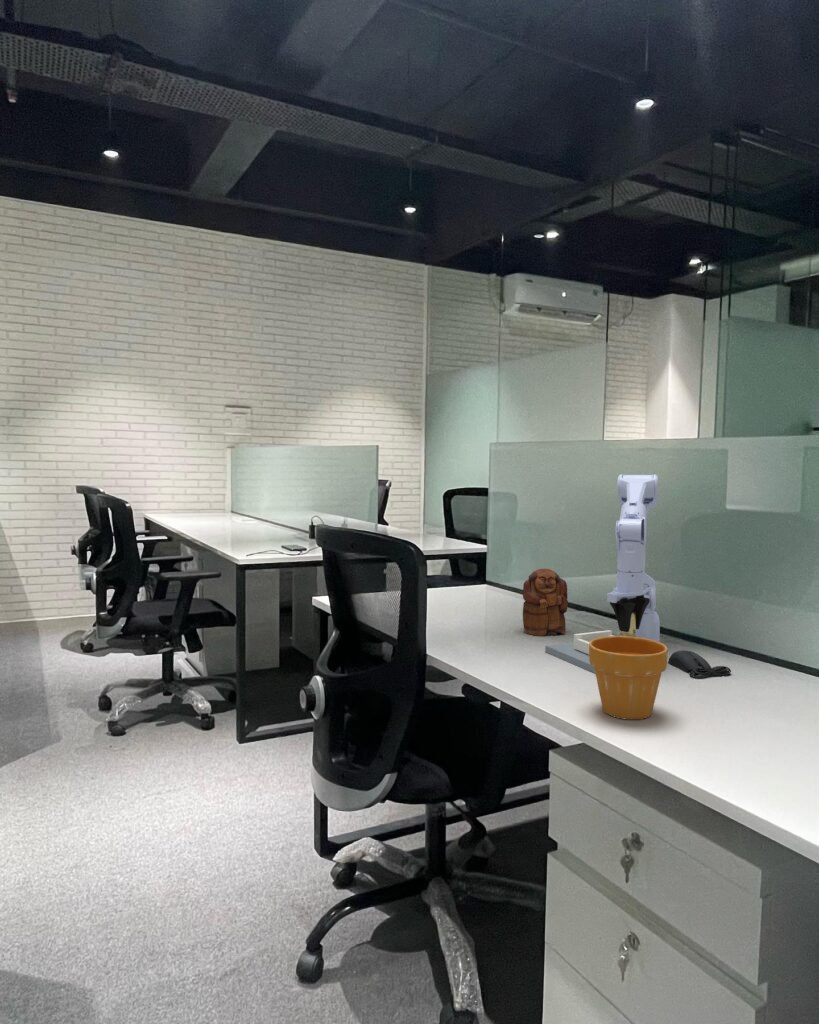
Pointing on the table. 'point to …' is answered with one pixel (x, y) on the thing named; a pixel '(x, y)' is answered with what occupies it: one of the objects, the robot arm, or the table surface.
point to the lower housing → (588, 639)
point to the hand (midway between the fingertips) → (629, 629)
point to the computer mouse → (696, 665)
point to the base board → (570, 655)
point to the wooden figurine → (544, 603)
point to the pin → (631, 627)
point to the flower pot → (627, 674)
